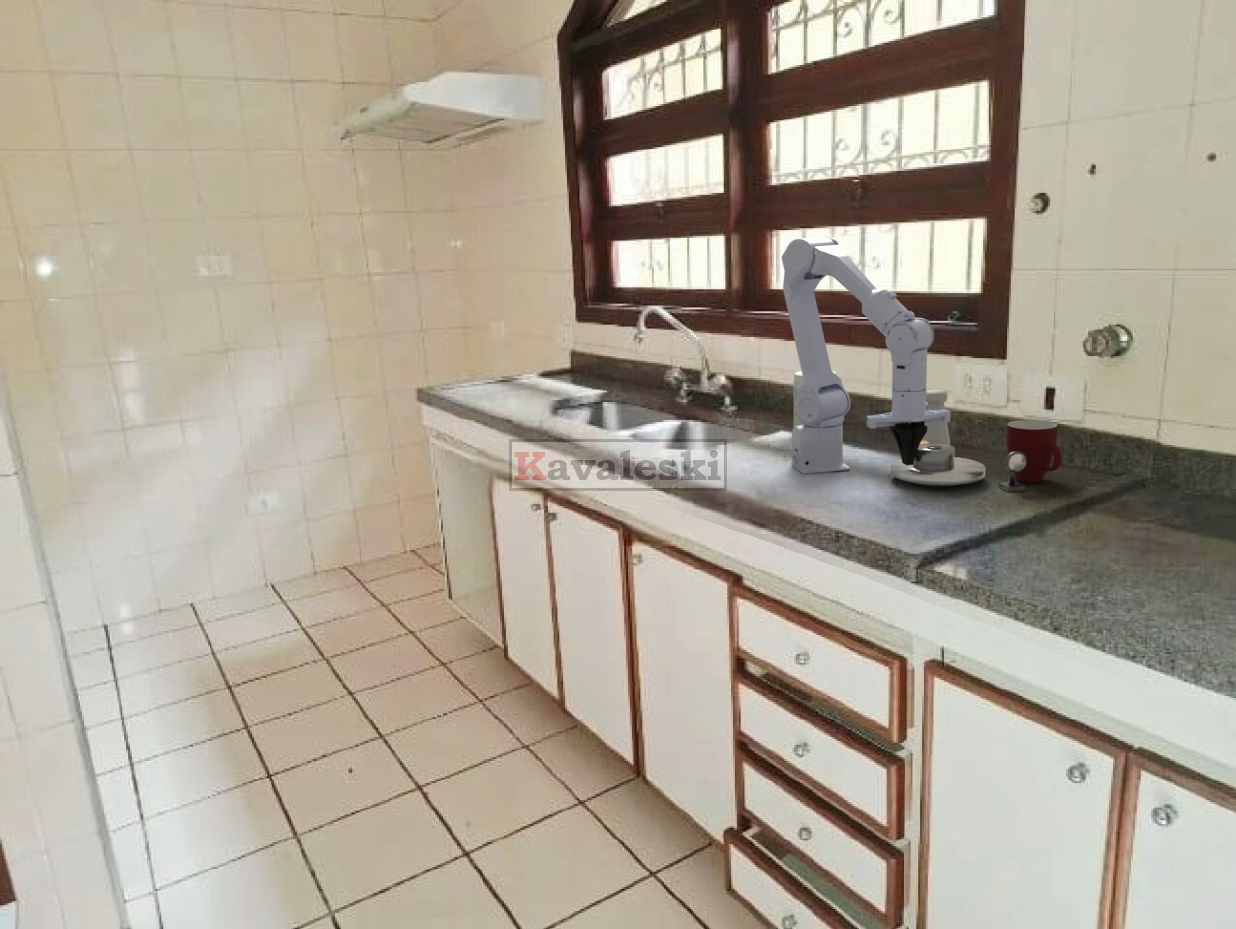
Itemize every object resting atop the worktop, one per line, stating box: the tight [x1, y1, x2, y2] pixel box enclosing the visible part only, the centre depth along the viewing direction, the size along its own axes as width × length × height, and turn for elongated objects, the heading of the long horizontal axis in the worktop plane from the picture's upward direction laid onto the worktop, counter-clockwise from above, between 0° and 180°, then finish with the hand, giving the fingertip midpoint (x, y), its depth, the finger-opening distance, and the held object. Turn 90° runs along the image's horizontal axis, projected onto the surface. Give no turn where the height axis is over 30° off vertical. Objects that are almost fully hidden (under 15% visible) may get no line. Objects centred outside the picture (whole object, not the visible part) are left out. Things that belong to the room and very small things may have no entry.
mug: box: [1005, 419, 1063, 484], centre depth 146 cm, size 11×8×10 cm
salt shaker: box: [922, 388, 951, 446], centre depth 168 cm, size 6×6×13 cm
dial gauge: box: [998, 451, 1027, 493], centre depth 143 cm, size 4×3×7 cm
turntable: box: [890, 441, 986, 485], centre depth 151 cm, size 16×16×4 cm
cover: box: [913, 444, 956, 472], centre depth 151 cm, size 7×7×4 cm
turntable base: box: [912, 483, 964, 489], centre depth 152 cm, size 10×10×1 cm
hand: (907, 463), depth 151 cm, fingers closed
